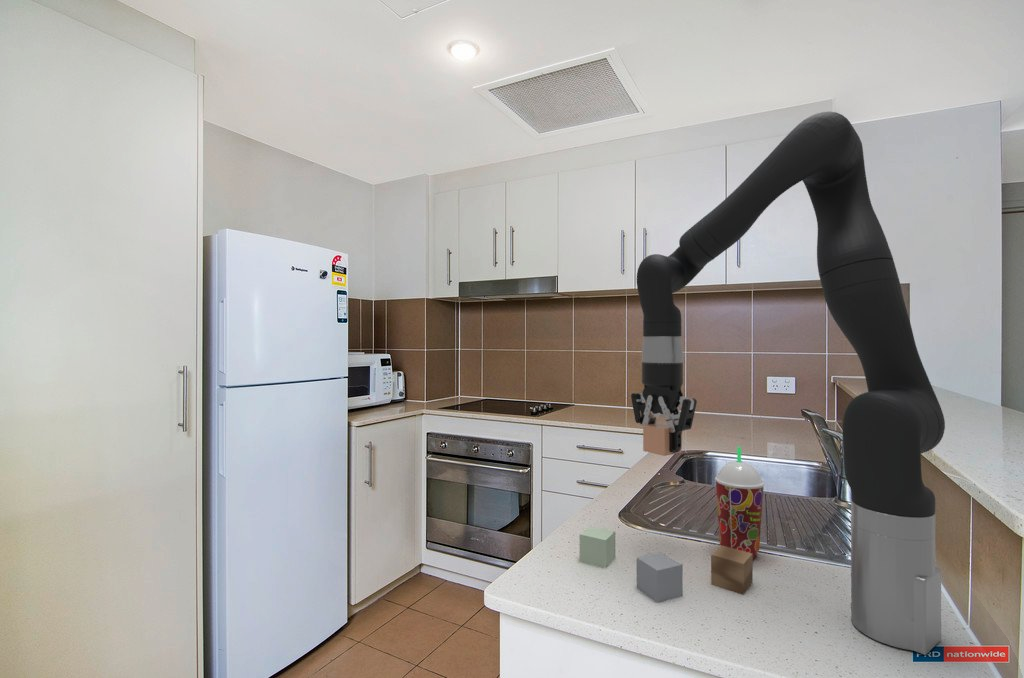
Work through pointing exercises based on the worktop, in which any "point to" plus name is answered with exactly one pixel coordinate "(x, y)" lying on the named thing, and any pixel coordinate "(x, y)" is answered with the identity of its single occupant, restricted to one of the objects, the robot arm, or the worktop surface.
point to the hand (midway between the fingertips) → (662, 448)
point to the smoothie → (739, 505)
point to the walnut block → (732, 569)
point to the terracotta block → (657, 439)
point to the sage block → (597, 546)
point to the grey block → (659, 577)
